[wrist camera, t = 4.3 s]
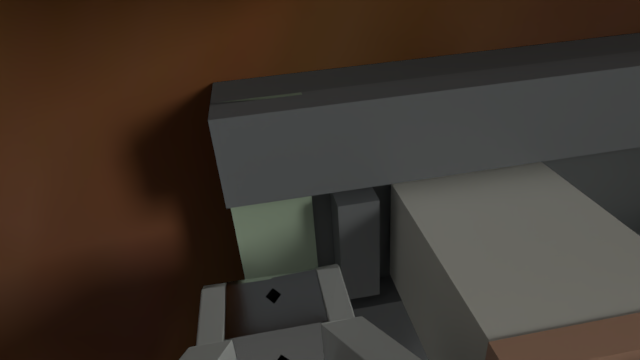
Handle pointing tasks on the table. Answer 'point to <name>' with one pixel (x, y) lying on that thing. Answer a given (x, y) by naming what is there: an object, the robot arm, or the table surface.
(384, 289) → the switch bank
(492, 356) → the tab
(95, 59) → the table surface
